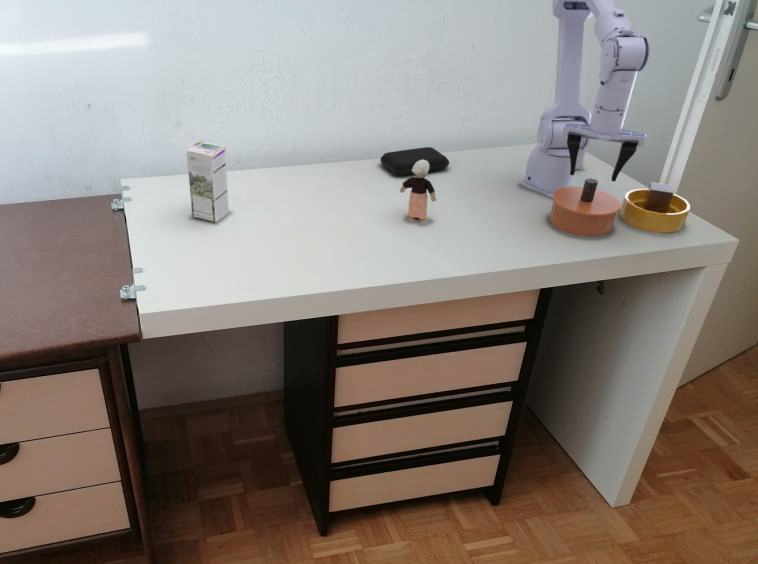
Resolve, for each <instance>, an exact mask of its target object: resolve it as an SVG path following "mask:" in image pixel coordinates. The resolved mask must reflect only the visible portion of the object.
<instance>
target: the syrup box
mask: <svg viewBox="0 0 758 564" xmlns="http://www.w3.org/2000/svg"><path fill="white" fill-rule="evenodd" d="M226 154H227V153H226V146H225V145H223V144H218V143H212V142H206V141H198V142H196V143H195V144H193V145H192V146H190V147H188V149H186V160H187V173H188V183H189V192H190V193H189V196H190V204H191V206H190V207H191V216H192V218H194V219H198V220H202V221H206V222H211V223H217V222H219V221H220V220H222V218H224V217H225V216H226V215H228V214H229V213H230V208H229V193H228V176H227V156H226Z"/></svg>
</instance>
